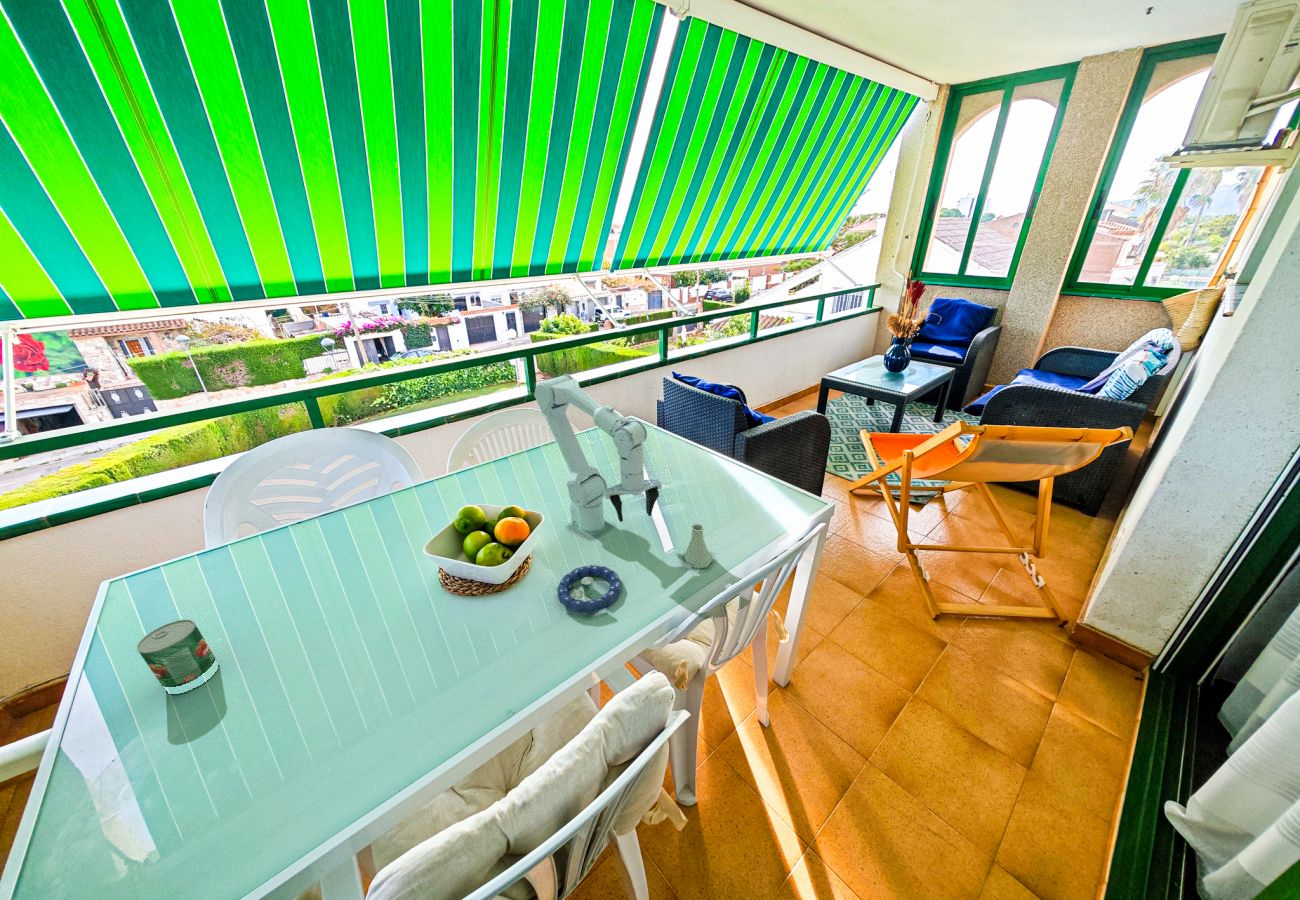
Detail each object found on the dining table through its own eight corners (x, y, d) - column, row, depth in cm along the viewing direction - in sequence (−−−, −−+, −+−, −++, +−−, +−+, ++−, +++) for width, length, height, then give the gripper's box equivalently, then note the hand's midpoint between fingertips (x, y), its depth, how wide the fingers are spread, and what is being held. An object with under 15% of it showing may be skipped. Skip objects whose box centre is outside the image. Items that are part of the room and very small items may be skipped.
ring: (545, 594, 105) (544, 586, 104) (592, 563, 115) (591, 555, 114) (587, 625, 96) (585, 616, 95) (633, 588, 106) (633, 580, 105)
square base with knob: (561, 596, 106) (559, 582, 104) (590, 576, 112) (588, 562, 110) (586, 615, 100) (585, 600, 99) (616, 592, 106) (614, 578, 105)
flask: (710, 570, 112) (711, 536, 108) (681, 567, 114) (680, 534, 110) (712, 552, 119) (713, 520, 115) (685, 550, 120) (684, 517, 116)
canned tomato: (229, 663, 92) (205, 622, 87) (185, 698, 85) (157, 655, 80) (199, 657, 94) (175, 616, 89) (154, 691, 87) (124, 648, 82)
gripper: (606, 482, 107) (611, 530, 113) (665, 471, 111) (666, 519, 117) (600, 469, 114) (604, 516, 119) (656, 460, 117) (657, 505, 123)
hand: (634, 516), depth 118 cm, fingers open, 7 cm apart
